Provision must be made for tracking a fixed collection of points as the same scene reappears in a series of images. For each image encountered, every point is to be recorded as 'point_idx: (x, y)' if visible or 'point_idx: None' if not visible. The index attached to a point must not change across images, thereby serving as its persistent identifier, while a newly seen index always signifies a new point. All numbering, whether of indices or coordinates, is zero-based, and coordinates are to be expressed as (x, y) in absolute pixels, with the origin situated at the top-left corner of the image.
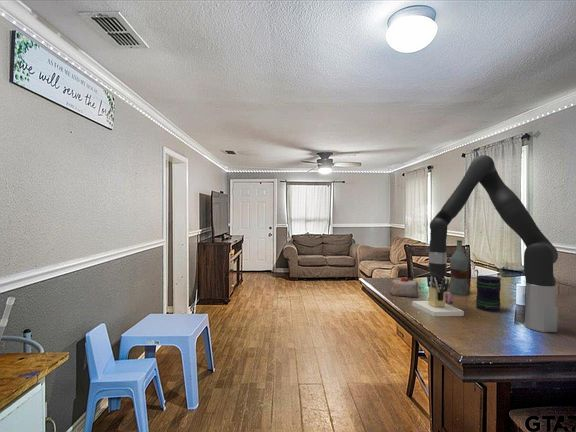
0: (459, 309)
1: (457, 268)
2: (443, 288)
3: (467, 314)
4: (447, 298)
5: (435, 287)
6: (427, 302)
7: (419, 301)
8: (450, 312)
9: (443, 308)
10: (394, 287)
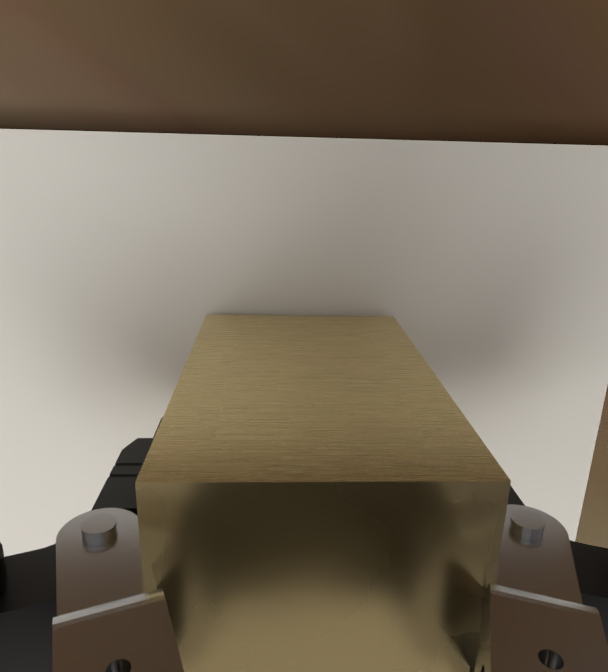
0: (553, 150)
1: None
2: (575, 601)
3: (566, 22)
4: None
5: (260, 644)
6: (82, 424)
7: (18, 510)
8: (602, 372)
9: (448, 381)
10: None
